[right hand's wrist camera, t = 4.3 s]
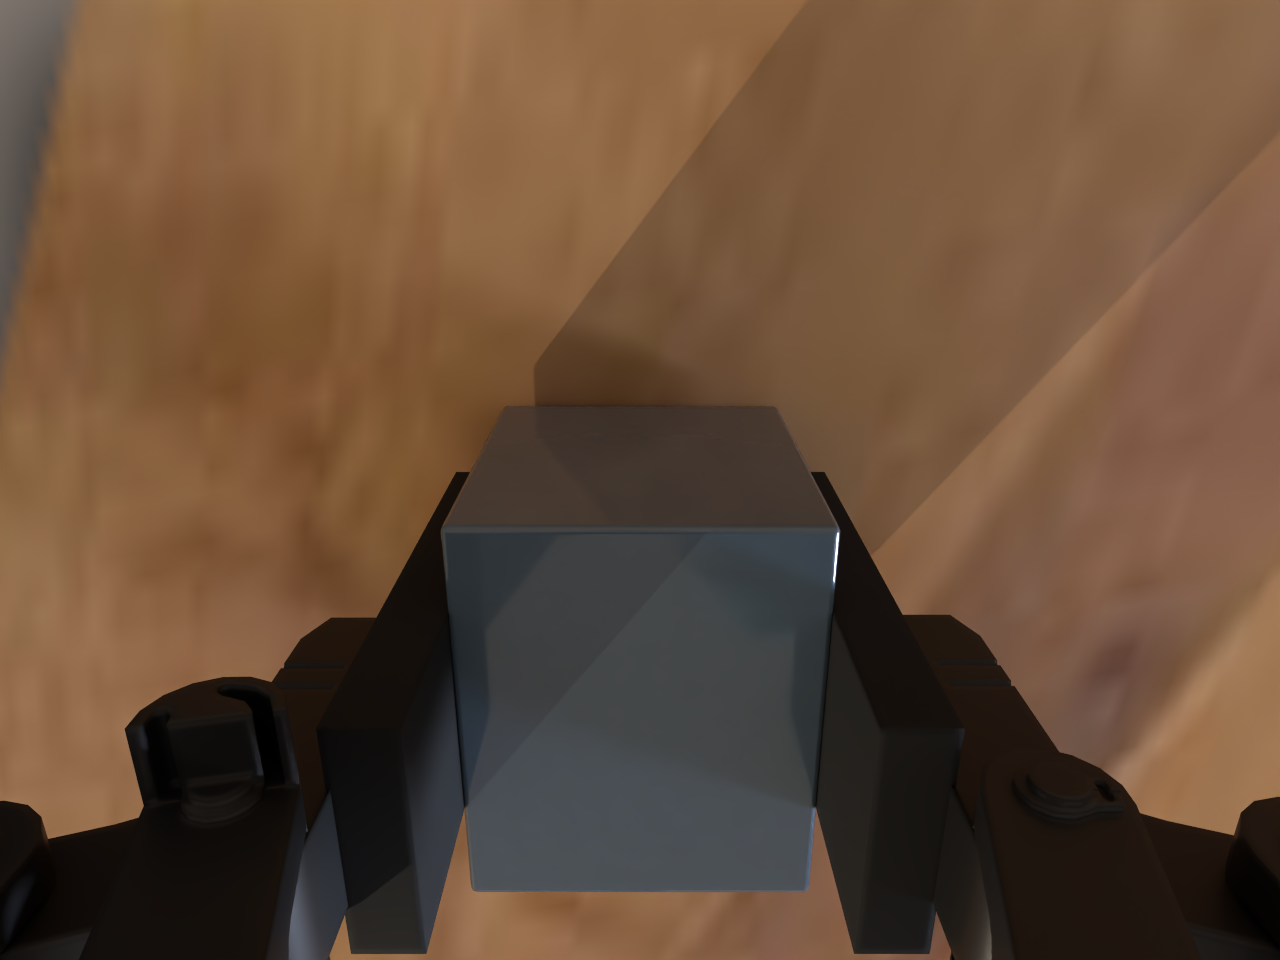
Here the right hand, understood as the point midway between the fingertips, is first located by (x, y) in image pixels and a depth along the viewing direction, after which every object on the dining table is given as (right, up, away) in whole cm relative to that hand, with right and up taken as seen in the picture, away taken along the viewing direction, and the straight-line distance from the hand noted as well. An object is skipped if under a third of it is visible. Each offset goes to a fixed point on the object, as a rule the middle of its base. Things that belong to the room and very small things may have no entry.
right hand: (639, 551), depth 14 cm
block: (0, 0, 0) cm, 0 cm away
